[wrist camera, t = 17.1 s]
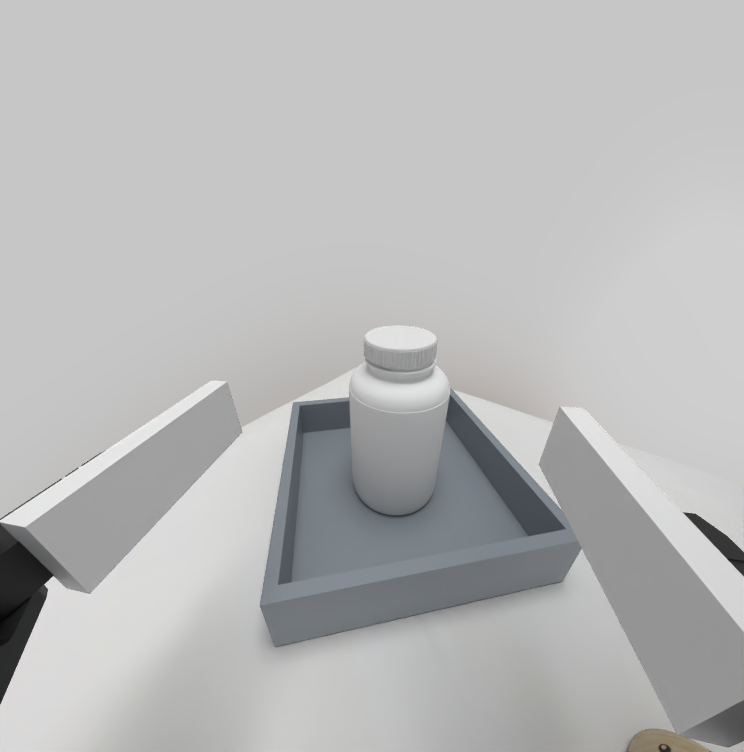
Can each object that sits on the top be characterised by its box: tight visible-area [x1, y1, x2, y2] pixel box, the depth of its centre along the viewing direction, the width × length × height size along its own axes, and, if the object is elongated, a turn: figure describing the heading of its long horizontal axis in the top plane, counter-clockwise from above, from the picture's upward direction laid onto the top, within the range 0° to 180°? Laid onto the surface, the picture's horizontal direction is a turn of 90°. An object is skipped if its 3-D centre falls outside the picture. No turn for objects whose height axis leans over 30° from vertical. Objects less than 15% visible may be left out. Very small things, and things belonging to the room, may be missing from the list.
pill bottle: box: [349, 326, 450, 515], centre depth 23 cm, size 8×8×15 cm
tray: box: [260, 388, 582, 647], centre depth 25 cm, size 20×20×5 cm
